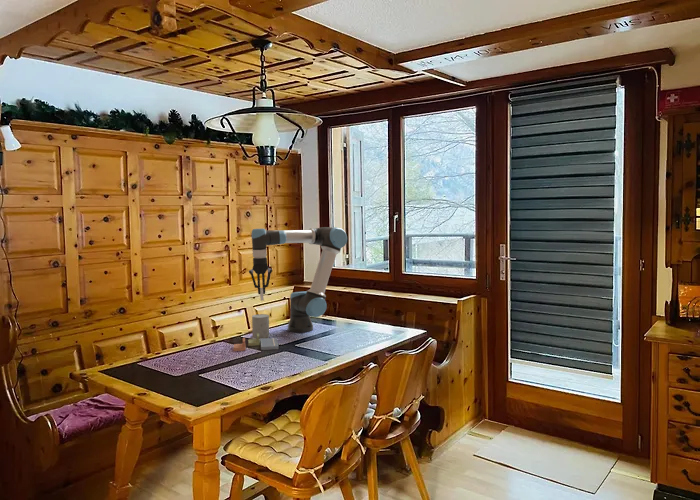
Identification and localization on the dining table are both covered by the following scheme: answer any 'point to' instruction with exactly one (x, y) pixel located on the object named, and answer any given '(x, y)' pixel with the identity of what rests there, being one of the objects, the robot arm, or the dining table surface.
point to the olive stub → (254, 341)
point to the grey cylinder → (260, 326)
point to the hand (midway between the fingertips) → (262, 300)
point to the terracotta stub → (240, 346)
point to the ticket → (269, 343)
